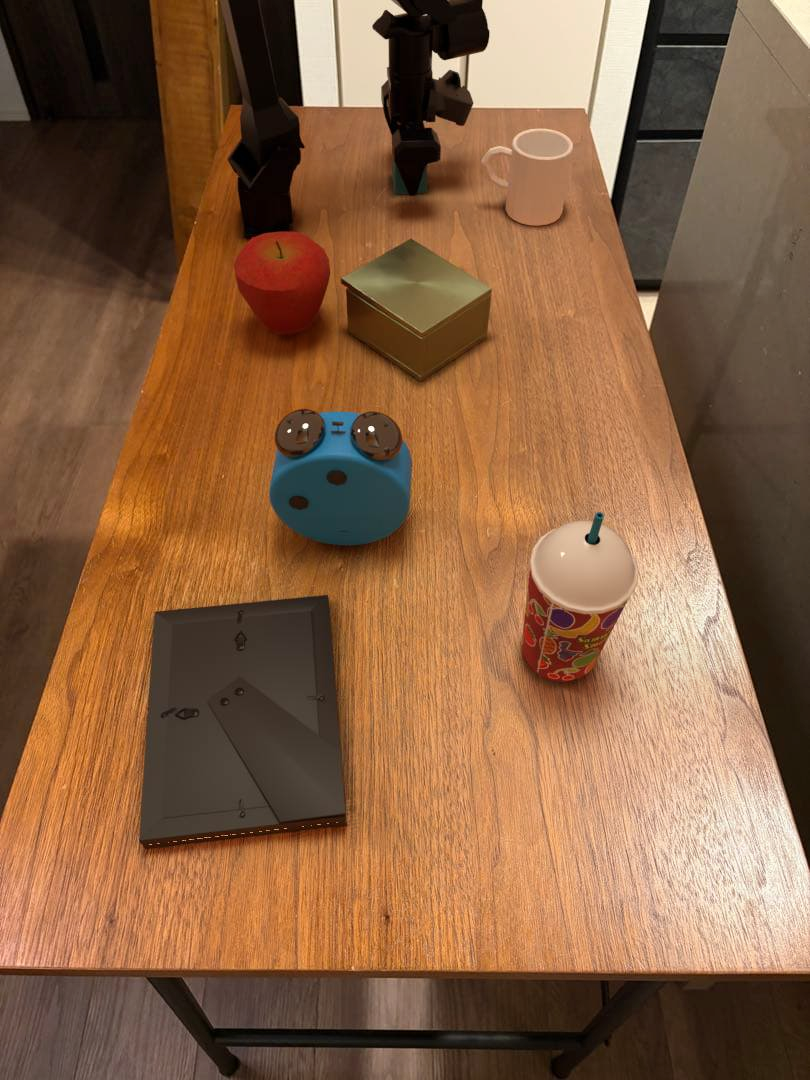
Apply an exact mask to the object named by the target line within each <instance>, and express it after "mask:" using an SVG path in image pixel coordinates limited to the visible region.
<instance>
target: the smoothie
mask: <svg viewBox="0 0 810 1080" xmlns="http://www.w3.org/2000/svg"><path fill="white" fill-rule="evenodd" d="M593 517H594V518H593V520H590V519H579V520H577V519H576V520H573V521H569V522H567V523H566V522H565V523H563V524H561V525H559V526H558V527H556V528H553V529H551V530H549V531H548V532H546V533H545V534H544V535H542V536H541V537H540V538H539V539H538V540H537V542H536V543H535V545H534V546H533V548H532V550H531V554H530V558H529V573H528V574H529V575H528V584H527V590H526V591H527V592H526V599H525V600H526V601H525V611H524V619H523V628H522V636H521V644H520V645H521V649H522V655H523V657H524V659H525V660H526V662H527V664H528V665H529V666H530V667H531V668H532V670H533V671H534V672H535V673H536V674H538V675H539V676H540V677H542V678H544V679H546V680H547V681H551V682H557V683H565V682H566V683H567V682H570V681H575V680H577V679H580V678H583V677H585V676H586V675H587V674H588V673H590V672H591V671H592V670H593V668H594V666H595V664H596V663H597V660H598V659H599V657H600V655H601V653H602V652H603V649H604V647H605V645H606V643H607V641H608V639H609V638H610V636H611V633H612V632H613V630H614V628H615V627H616V624H617V622H618V621H619V619H620V616H621V614H622V613H623V612H624V610H625V607H626V605H627V603H628V601H629V600H630V598H631V597H632V595H633V593H634V591H635V589H636V588H637V586H638V581H639V573H640V570H639V567H638V564H637V560H636V557H635V555H634V554H633V553H632V551H631V549H630V547H629V546H628V544H627V542H626V541H625V539H624V538H623V537H622V535H620V534H619V532H617V531H615V529H614V528H612V527H610V526H608V525H606V524H604V523H603V521H604V517H605V514H604V513H603V512H602V511H597V512H595V514H594V516H593Z"/></svg>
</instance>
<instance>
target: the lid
mask: <svg viewBox="0 0 810 1080" xmlns="http://www.w3.org/2000/svg"><path fill="white" fill-rule="evenodd" d="M340 283H341V285H343V286H344V287H346V289H347V288H349V289H350V290H352V291H353V292H355V293H356V294H358V295H359V296H361V297H362V298H364V299H365V300H366V301H368V302H369V303H371V304H372V305H374V306H375V307H377V308H378V309H380V310H381V311H383V312H384V313H386V314H387V315H389V316H390V317H392V318H393V319H395V320H396V321H397V322H399V323H400V324H402V325H403V326H405V327H406V328H408V329H409V330H411V331H412V332H414V333H415V334H417V335H418V336H420V337H421V338H423V337H425V336H426V335H428V334H429V333H431V332H432V331H434V330H435V329H437V328H439V327H440V326H442V325H443V324H445V323H446V322H448V321H449V320H451V319H453V318H454V317H456V316H457V315H459V314H460V313H462V312H464V311H465V310H467V309H468V308H470V307H471V306H473V305H474V304H476V303H478V302H479V301H481V300H482V299H484V298H485V297H487V296H488V295H490V294H491V295H492V292H493V288H492V287H491V286H490V285H488V284H486V283H484V282H483V281H481V280H480V279H478V278H476V277H475V276H473V275H471V273H468V272H467V271H465V270H463V269H462V268H460V267H458V266H457V265H455V264H454V263H452V262H450V261H449V260H447V259H445V258H444V257H443V256H441V255H440V254H437V253H436V252H434V251H433V250H431V249H429V248H428V247H426V246H424V245H423V244H421V243H420V242H418V241H416V240H415V239H413V238H409V239H407V240H406V241H404V242H402V243H400V244H398V245H397V246H395V247H393V248H391V249H390V250H388V251H386V252H385V253H382V254H381V255H379V256H377V257H375V258H374V259H372V260H370V261H368V262H366V263H364V264H363V265H361V266H359V267H358V268H356V269H354V270H352V271H350V272H349V273H347V274H345V275H344V276H342V277H341V278H340Z"/></svg>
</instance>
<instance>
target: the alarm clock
mask: <svg viewBox="0 0 810 1080" xmlns="http://www.w3.org/2000/svg"><path fill="white" fill-rule="evenodd" d="M274 444H275V447H276V453H275V458H274V463H273V468H272V473H271V479H270V484H269V490H268V492H269V493H268V494H269V501H270V502H269V503H270V506H271V508H272V510H273V512H274V513H275V515H276V516H277V517H278V520H280V521H281V523H283V525H285V526H286V527H287V528H289V529H290V530H292V531H293V532H295V533H296V534H298V535H300V536H302V537H304V538H307V539H309V540H311V541H316V542H318V543H321V544H327V545H333V546H360V545H366V544H370V543H375V542H378V541H380V540H382V539H385V538H387V537H388V536H390V535H392V534H394V533H395V532H396V531H397V530H398V529H399V528H400V527H402V525H403V524H404V522H405V521H406V519H407V517H408V514H409V512H410V507H411V493H412V491H411V490H412V473H413V460H412V455H411V452H410V449H409V447H408V445H407V444H406V442H405V440H404V439H403V434H402V430H401V428H400V427H399V425H398V424H397V422H396V421H395V420H394V419H393V418H392V417H390V416H389V415H387V414H385V413H382V412H380V411H367V412H363V413H357V412H352V411H339V410H338V411H337V410H336V411H324V412H319V413H318V412H317V411H315V410H313V409H308V408H301V409H300V408H299V409H295V410H293V411H291V412H289V413H288V414H287V415H285V416H284V417H283V418H282V419H281V420H280V421H279V423H278V425H277V426H276V429H275V433H274Z"/></svg>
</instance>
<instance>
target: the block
mask: <svg viewBox="0 0 810 1080" xmlns="http://www.w3.org/2000/svg"><path fill="white" fill-rule="evenodd" d="M391 180H392V185H393V191H394V195H409V194H408V192H407V189H406V187H405V184H404V182H403V180H402V177H401V175H400V173H399V170H398V168H397V166H396V164H395V162H394V158H393V154H392V153H391ZM427 185H428V165H427V166H426V167H425V170H424V173H423V176H422V179H421V182H420V185H419V189H418V192H417V194H426V193H427V190H428V187H427Z"/></svg>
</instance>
